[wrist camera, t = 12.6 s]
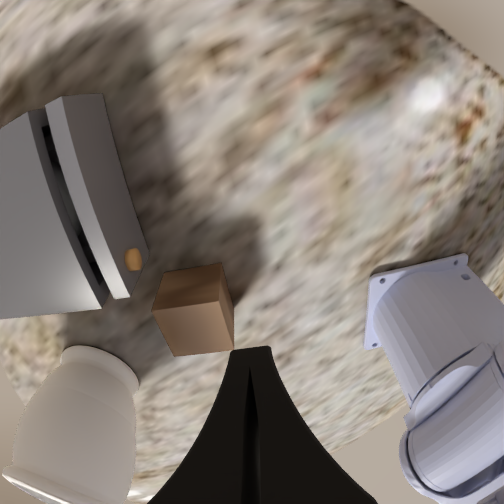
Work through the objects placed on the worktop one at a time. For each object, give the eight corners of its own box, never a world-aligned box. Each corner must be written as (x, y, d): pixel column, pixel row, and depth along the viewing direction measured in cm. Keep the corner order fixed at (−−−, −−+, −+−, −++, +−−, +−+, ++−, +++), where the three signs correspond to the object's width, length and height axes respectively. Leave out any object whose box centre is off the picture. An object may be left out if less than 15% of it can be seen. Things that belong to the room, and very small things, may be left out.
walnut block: (221, 262, 20) (218, 301, 16) (233, 309, 22) (234, 349, 18) (164, 272, 20) (151, 310, 16) (181, 316, 22) (173, 356, 18)
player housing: (81, 102, 14) (27, 111, 9) (129, 256, 19) (101, 308, 14) (-17, 156, 14) (-66, 181, 10) (30, 276, 20) (-3, 319, 15)
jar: (132, 337, 23) (88, 509, 10) (161, 404, 28) (145, 533, 15) (37, 331, 23) (-24, 459, 9) (78, 394, 28) (46, 504, 15)
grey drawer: (109, 90, 14) (70, 92, 10) (156, 252, 19) (138, 295, 15) (-10, 151, 14) (-52, 171, 10) (38, 276, 19) (10, 312, 15)
